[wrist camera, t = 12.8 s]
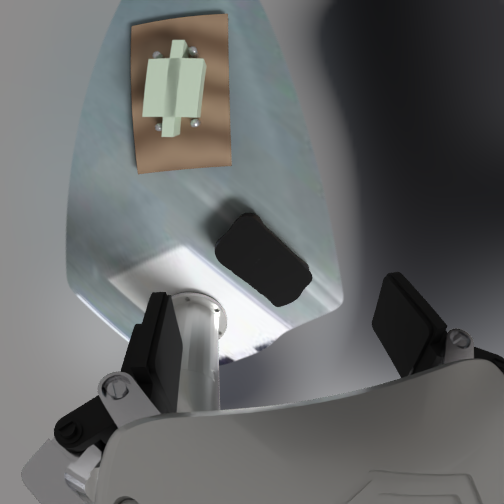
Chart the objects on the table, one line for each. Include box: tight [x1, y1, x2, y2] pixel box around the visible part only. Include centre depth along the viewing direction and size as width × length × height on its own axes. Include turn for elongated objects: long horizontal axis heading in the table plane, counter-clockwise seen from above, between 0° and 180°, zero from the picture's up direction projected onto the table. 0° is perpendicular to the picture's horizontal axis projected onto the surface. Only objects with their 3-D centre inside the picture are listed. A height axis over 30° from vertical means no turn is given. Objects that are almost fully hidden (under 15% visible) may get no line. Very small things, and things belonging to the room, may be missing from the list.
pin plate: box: [131, 14, 232, 174], centre depth 30 cm, size 22×13×4 cm, turn 1°
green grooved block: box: [142, 40, 206, 137], centre depth 28 cm, size 12×6×5 cm, turn 173°
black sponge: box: [215, 213, 312, 307], centre depth 44 cm, size 16×8×4 cm, turn 44°
